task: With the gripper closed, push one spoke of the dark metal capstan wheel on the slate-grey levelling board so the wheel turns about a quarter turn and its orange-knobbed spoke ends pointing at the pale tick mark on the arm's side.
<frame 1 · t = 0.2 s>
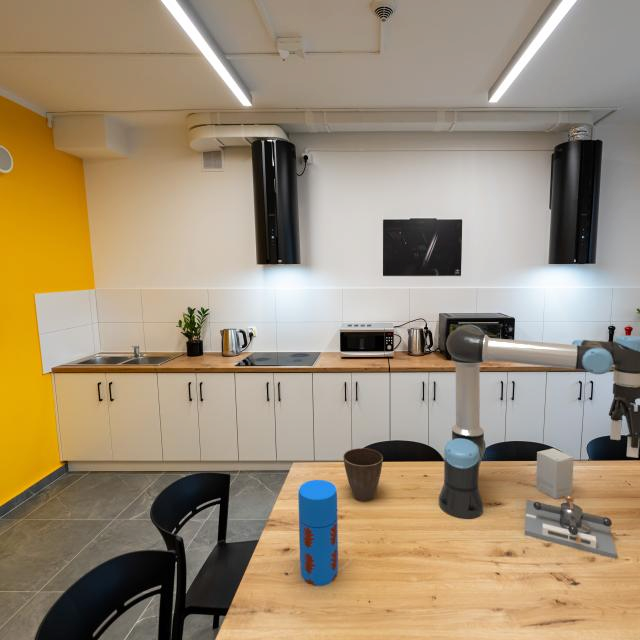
hand: (623, 447, 129), 27 cm above the table, fingers open, 13 cm apart
supplement box: (553, 491, 153), on the table
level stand: (566, 528, 130), on the table
thermos: (319, 572, 113), on the table
plant pot: (363, 496, 152), on the table
capstan: (570, 516, 129), point 5 cm above the table, hinge at 0.0°
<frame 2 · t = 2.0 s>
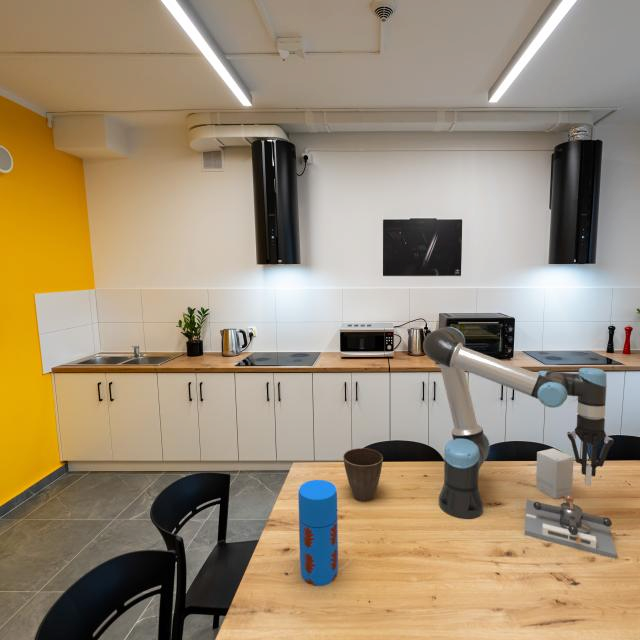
hand: (587, 484, 132), 14 cm above the table, fingers closed
nothing on the table moved.
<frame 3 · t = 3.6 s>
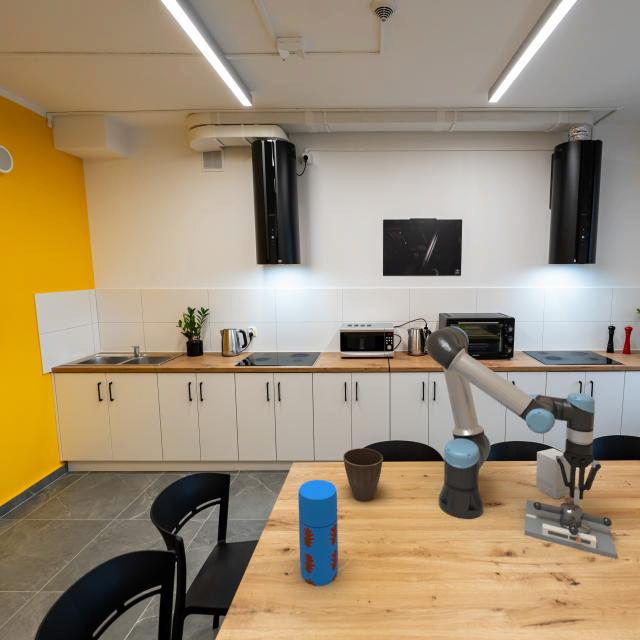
hand: (575, 506, 134), 5 cm above the table, fingers closed
capstan: (570, 516, 129), point 5 cm above the table, hinge at 0.4°, touching gripper
everything else where it was.
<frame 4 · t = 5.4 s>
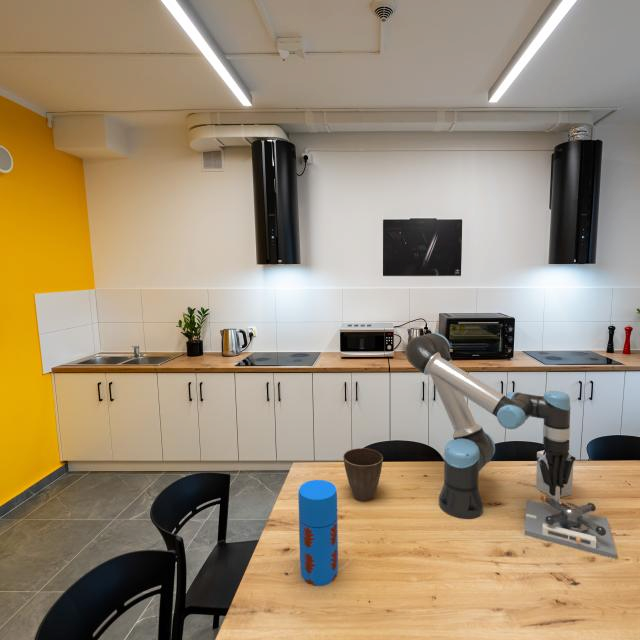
hand: (555, 503, 136), 5 cm above the table, fingers closed
capstan: (570, 516, 129), point 5 cm above the table, hinge at 50.2°, touching gripper
everything else where it was.
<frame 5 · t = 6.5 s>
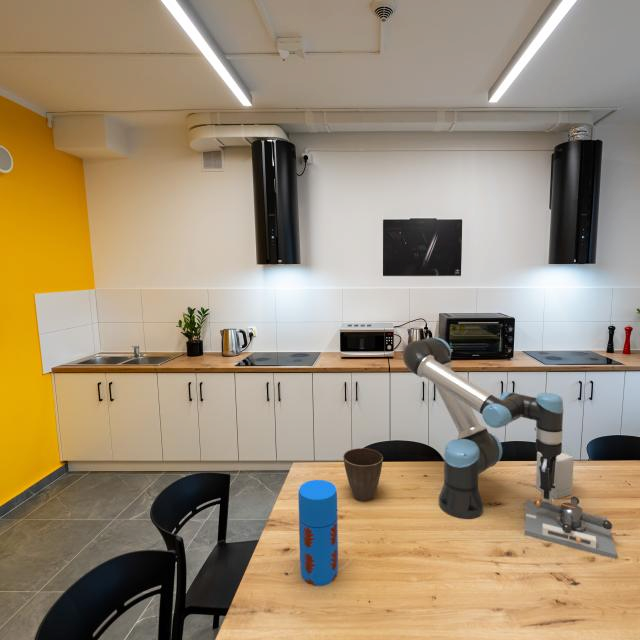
hand: (546, 506, 134), 5 cm above the table, fingers closed
capstan: (570, 516, 129), point 5 cm above the table, hinge at 79.8°, touching gripper
everything else where it was.
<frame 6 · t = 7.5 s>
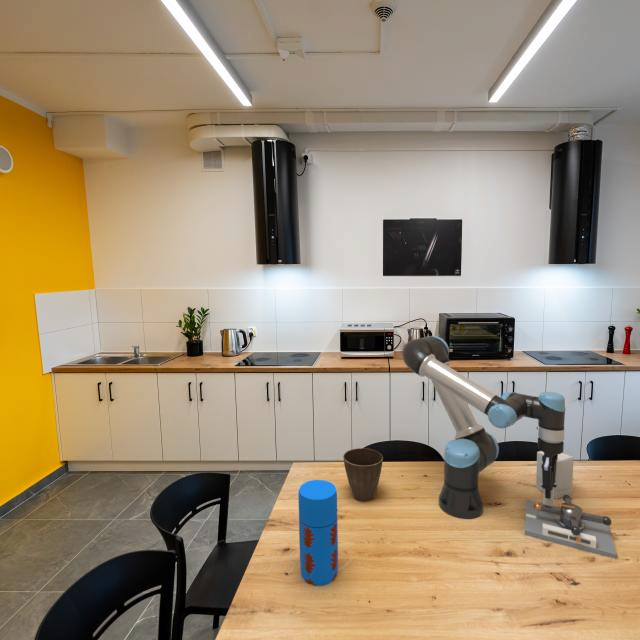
hand: (548, 505, 135), 5 cm above the table, fingers closed
capstan: (570, 516, 129), point 5 cm above the table, hinge at 93.8°
everything else where it was.
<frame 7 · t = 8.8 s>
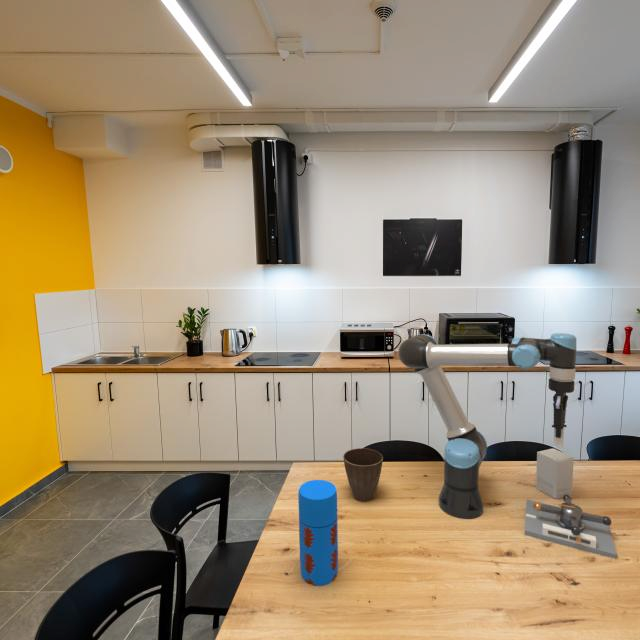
hand: (558, 445, 137), 24 cm above the table, fingers closed
nothing on the table moved.
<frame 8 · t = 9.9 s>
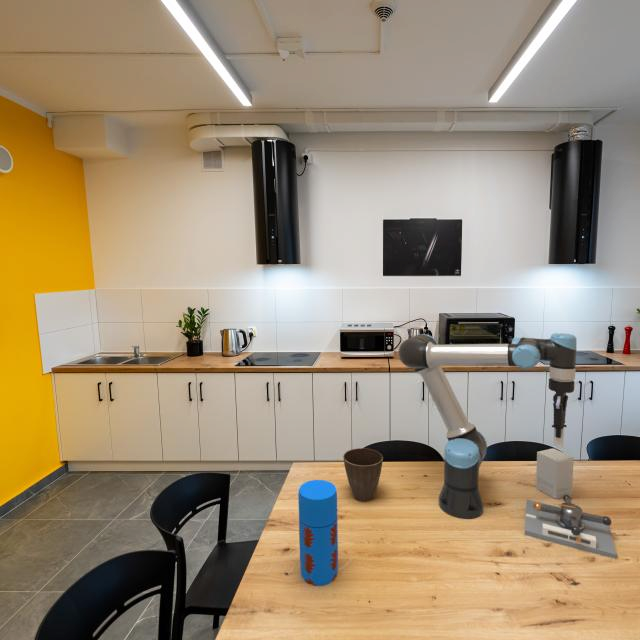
hand: (558, 445, 137), 24 cm above the table, fingers closed
nothing on the table moved.
at the end: capstan at +94° (first picture: +0°) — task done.
